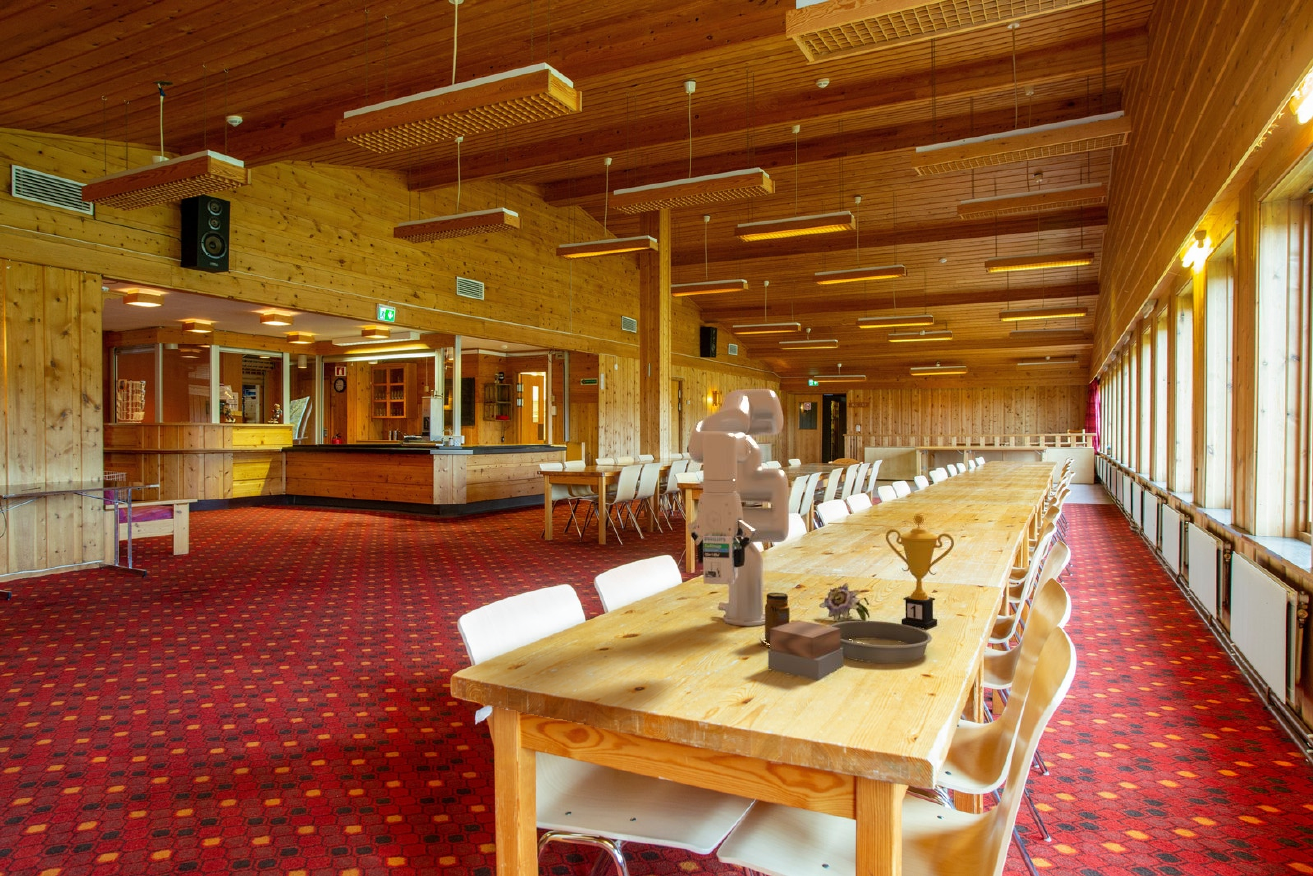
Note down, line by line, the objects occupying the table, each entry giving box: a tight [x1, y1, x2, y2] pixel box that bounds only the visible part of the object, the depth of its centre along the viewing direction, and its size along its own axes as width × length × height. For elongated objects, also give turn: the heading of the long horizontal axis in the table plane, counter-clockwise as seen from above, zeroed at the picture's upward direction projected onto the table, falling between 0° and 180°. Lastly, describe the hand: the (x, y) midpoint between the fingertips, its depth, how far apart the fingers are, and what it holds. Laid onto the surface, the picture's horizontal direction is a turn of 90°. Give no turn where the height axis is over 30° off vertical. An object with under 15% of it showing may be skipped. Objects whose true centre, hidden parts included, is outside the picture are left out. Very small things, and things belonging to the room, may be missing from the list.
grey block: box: [767, 648, 844, 681], centre depth 164 cm, size 12×12×4 cm
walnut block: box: [769, 619, 841, 659], centre depth 165 cm, size 11×11×4 cm
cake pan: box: [829, 620, 933, 664], centre depth 178 cm, size 25×25×4 cm
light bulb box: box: [702, 533, 738, 586], centre depth 167 cm, size 11×7×11 cm, turn 168°
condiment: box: [759, 592, 791, 648], centre depth 185 cm, size 7×8×12 cm
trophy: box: [885, 514, 955, 630], centre depth 202 cm, size 19×10×30 cm, turn 45°
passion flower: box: [818, 582, 870, 622], centre depth 210 cm, size 11×11×12 cm
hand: (720, 564), depth 167 cm, fingers closed on light bulb box, 9 cm apart
